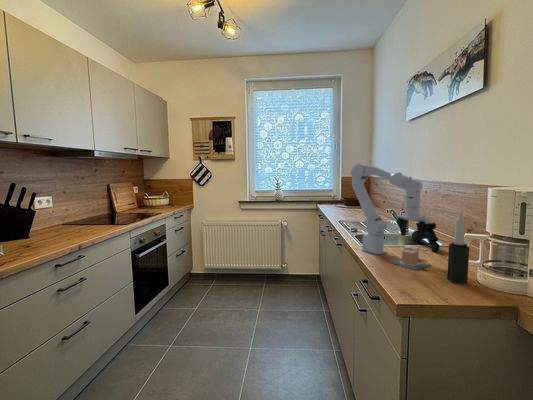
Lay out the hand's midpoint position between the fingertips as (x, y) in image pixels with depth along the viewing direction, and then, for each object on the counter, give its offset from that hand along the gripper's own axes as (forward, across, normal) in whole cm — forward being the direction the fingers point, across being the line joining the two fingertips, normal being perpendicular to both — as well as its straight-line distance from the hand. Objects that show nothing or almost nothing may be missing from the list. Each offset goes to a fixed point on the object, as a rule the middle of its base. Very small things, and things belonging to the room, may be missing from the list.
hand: (411, 236), depth 126 cm
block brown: (+9, -4, +8) cm, 13 cm away
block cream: (+10, +1, -1) cm, 10 cm away
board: (+10, -4, +8) cm, 13 cm away
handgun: (+10, +8, -26) cm, 30 cm away
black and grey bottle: (+10, -25, +11) cm, 29 cm away
